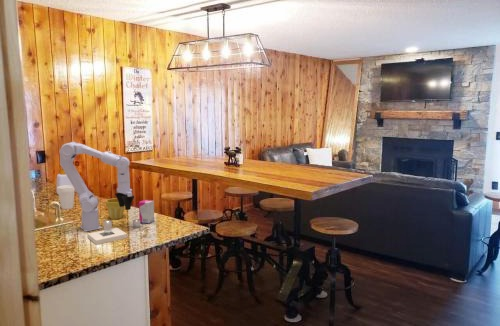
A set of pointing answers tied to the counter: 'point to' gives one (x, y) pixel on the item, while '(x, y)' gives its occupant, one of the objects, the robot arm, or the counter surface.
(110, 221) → the long steel pin
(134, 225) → the short steel pin
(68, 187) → the foam cup
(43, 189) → the counter surface
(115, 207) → the plant pot
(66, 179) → the soap bottle
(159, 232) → the counter surface
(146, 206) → the supplement box
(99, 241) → the hole board
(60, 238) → the counter surface
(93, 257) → the counter surface
